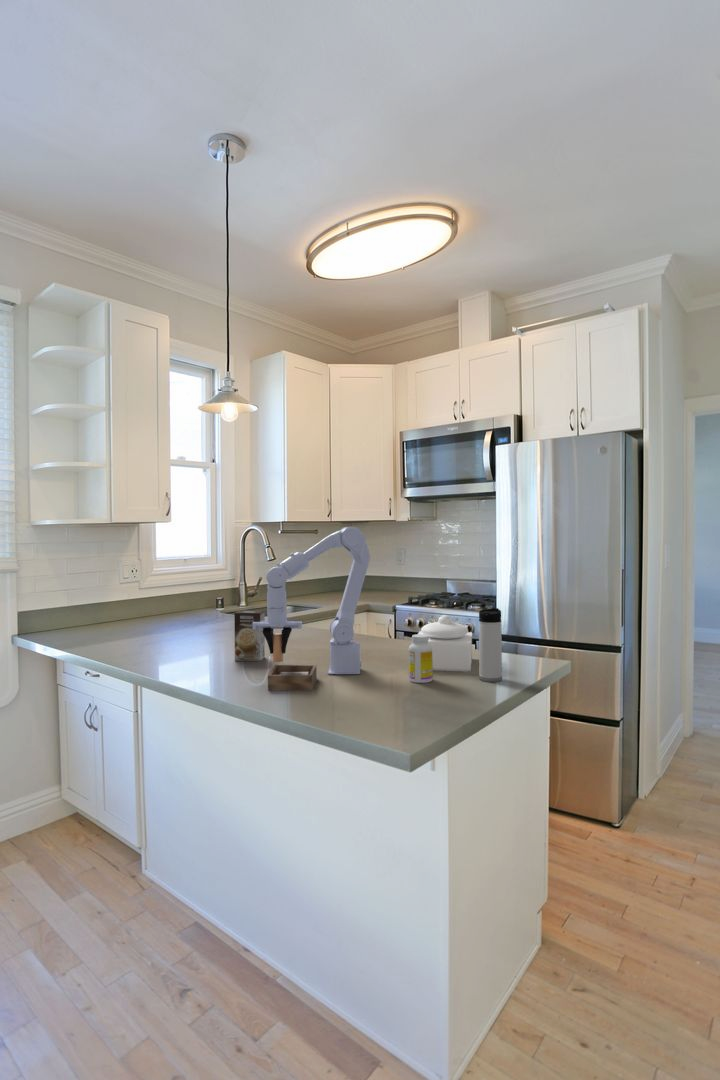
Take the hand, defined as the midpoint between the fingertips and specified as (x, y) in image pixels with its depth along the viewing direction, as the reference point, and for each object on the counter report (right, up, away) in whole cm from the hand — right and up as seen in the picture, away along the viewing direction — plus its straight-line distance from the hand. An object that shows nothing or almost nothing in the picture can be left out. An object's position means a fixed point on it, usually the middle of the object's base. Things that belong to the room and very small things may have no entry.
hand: (277, 652), depth 172 cm
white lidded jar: (+51, -6, +12) cm, 53 cm away
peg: (0, -2, 0) cm, 2 cm away
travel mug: (+62, -6, -8) cm, 63 cm away
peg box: (+6, -7, -11) cm, 14 cm away
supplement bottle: (+42, -7, -8) cm, 43 cm away
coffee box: (-13, -7, +22) cm, 26 cm away
